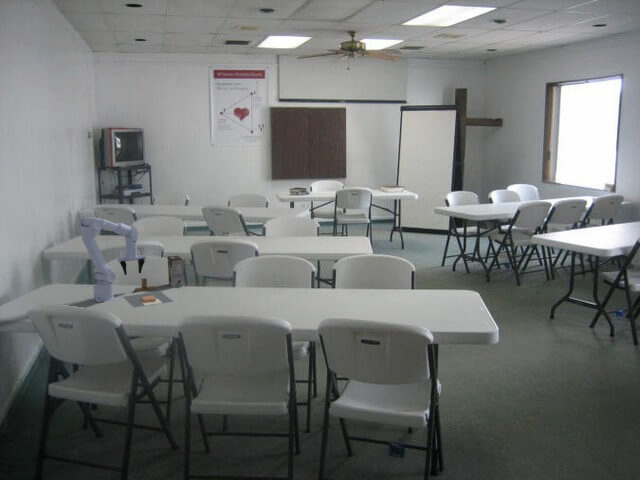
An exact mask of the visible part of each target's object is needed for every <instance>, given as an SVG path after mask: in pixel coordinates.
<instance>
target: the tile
mask: <svg viewBox="0 0 640 480" xmlns="http://www.w3.org/2000/svg"><path fill="white" fill-rule="evenodd" d="M142 300H143V302H144V303H145V302H154V301H156V298H155V297H154V296H144V297H142Z"/></svg>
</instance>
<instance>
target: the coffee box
mask: <svg viewBox="0 0 640 480" xmlns="http://www.w3.org/2000/svg"><path fill="white" fill-rule="evenodd" d="M167 271H168V284H169V286H171V288H172V287H173V288H174V287H175V288H179V287H180V288H181V287H184V284H183V282H184V279H183V278H184V277H183V258H182V257H181V256H179V255H169V256H168V255H167Z"/></svg>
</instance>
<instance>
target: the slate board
mask: <svg viewBox="0 0 640 480" xmlns="http://www.w3.org/2000/svg"><path fill="white" fill-rule="evenodd" d="M144 296H154V297H155V298H156V301H154V302H145V303H144V302H143V300H142V297H144ZM122 298H123V299H125V300H126V302H128V303H129V304H130V305H131V306H132V307H133V308H138V307H139V308H140V307H147V306H154V305H159V304H160V305H162V304H166V303H173V302H174V300H172V299H171V298H170V297H168V296H167V295H165V294H164V293H163V292H162V291H156V292H148V293H141V294H133V295H126V296H122Z"/></svg>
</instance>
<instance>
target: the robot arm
mask: <svg viewBox="0 0 640 480" xmlns="http://www.w3.org/2000/svg"><path fill="white" fill-rule="evenodd" d="M79 227H80V230H81V240H82V243H83V244H84V246H85V248H86V250H87V252H88V255H89V257H90V259H91V261H92V264H93V265H94V268H93V270H92V271H93V273H94V279H95V280H96V283H94V284H93V300H94V301H96V303H103V302H107V301H113V300H116V297H115V296H114V282H115V280H116V276H117V275H116V273H115V271H114V270H112V267H110V265H108V264H107V262H106V260H105V258H104V255H103V254H102V252H101V249H100V247H99V245H98V243H97V240H96V238H95V237H97V235H98V234H99V232H100V231H101V230H102V228H103V229H104V228H107V229H110V230H112V231H113V232H114V233H115V234H118V235H120V236H123V237H124V240H125V241H124V242H125V256H123V257H117V262H118V263H119V264H120V266H121V268H122V270H123V274H124V276H127V273H128V272H127V262H130V261H131V262H132V261H137V263H138V265H137V266H138V274H142V269H143V266H144V264H145V260H147V255H138V242H137V241H138V237H139V235H140V234H139V231H138V229H137V227H134V226H131V225H130V224H124V222H122V221H119V222H116V223H114V222H112V221H109V220H107V219H105V218H100V217H91V216H84V217H82V218H81V221H80V223H79Z"/></svg>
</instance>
